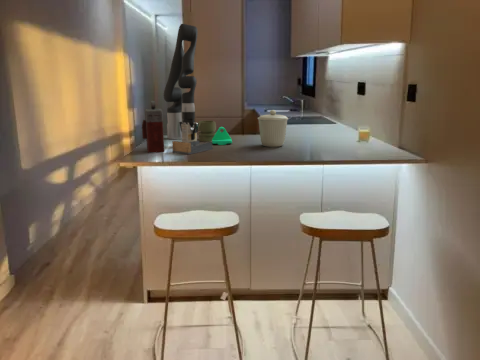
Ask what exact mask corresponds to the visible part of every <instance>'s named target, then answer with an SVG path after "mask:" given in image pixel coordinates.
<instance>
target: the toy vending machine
mask: <svg viewBox="0 0 480 360" xmlns="http://www.w3.org/2000/svg"><path fill="white" fill-rule="evenodd" d="M144 117H145V118H144V119H143V120H142V122H141V130H142V131H141V132H142V139H143V140H145V139H146V151H147V153H148V154H150V153H149V152H156V153H165V141H164V138H165V137H164V121H163V118H164V117H163V110H162V108H156V101H155V100H151V101H150V108H146V109H144Z"/></svg>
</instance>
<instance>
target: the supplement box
mask: <svg viewBox="0 0 480 360" xmlns="http://www.w3.org/2000/svg"><path fill="white" fill-rule="evenodd" d="M181 126H182V139H181V140H182V141H181V142H192V141H198V134H197V133H198V132H197V133H195V139H194V140H191V130H190V126H191V125H188V124H183V125H181ZM192 128H193V127H192Z"/></svg>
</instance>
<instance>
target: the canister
mask: <svg viewBox="0 0 480 360" xmlns="http://www.w3.org/2000/svg"><path fill="white" fill-rule="evenodd" d="M257 120H258V126H259V134H260V135H259V136H260V143H261V145H262V146H264V147H266V148H267V147H268V148H277V147H282V146H284V143H285V141H286V134H287V133H286V132H287V125H288V120H289V117H287V115H285V114H284V115H283V114H277V110H275V109H272V110H270V111H269V114H264V115H263V114H261V115H260V116H259V117H257Z"/></svg>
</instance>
